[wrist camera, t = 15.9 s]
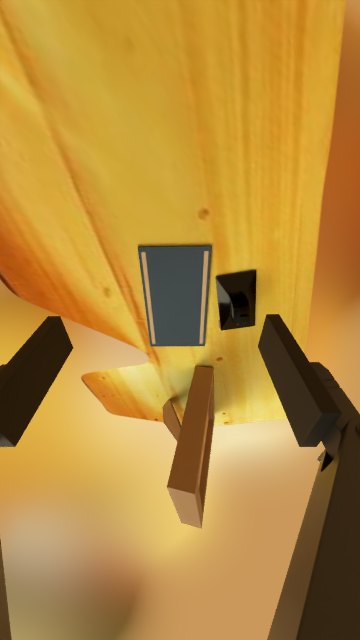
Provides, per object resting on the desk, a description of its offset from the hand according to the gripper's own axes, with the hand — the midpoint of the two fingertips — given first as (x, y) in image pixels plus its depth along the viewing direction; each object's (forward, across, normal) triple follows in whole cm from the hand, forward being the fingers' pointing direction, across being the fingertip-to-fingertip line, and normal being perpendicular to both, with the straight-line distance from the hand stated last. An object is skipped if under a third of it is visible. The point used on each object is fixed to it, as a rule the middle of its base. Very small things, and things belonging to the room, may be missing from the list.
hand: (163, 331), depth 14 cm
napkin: (+25, 0, -13) cm, 28 cm away
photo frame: (+25, +2, -42) cm, 49 cm away
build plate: (+25, +12, -13) cm, 30 cm away
